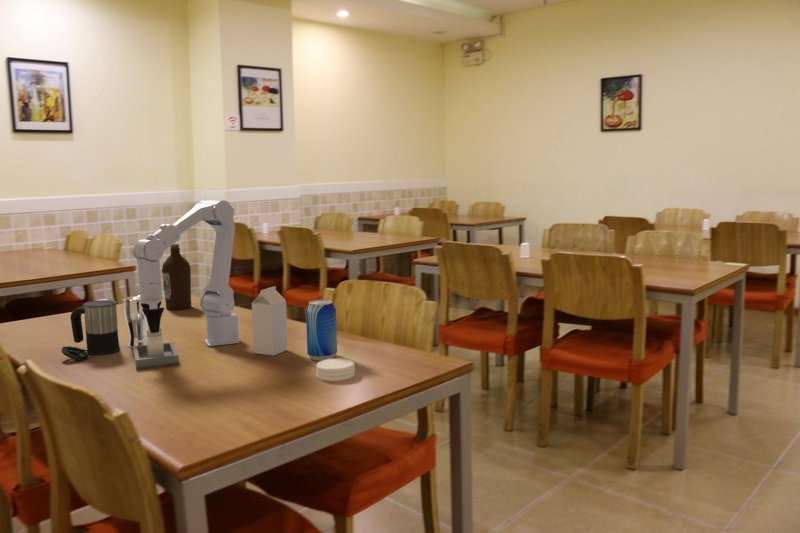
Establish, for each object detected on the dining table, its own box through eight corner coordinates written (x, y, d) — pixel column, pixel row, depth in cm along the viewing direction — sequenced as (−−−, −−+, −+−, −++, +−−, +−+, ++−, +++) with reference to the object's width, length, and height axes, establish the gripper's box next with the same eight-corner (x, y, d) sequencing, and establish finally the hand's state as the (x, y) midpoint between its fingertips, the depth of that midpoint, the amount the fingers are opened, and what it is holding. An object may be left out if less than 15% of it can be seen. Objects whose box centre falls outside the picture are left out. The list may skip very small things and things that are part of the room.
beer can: (324, 362, 184) (323, 306, 182) (301, 358, 189) (299, 303, 187) (343, 355, 192) (341, 300, 189) (320, 351, 196) (318, 298, 194)
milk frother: (124, 346, 205) (120, 298, 203) (111, 360, 190) (107, 309, 188) (74, 349, 203) (70, 301, 201) (57, 363, 188) (53, 312, 185)
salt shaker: (163, 354, 193) (162, 327, 192) (164, 358, 189) (162, 330, 188) (147, 356, 191) (145, 329, 190) (147, 360, 187) (145, 332, 186)
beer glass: (142, 348, 202) (139, 300, 200) (122, 347, 203) (118, 299, 201) (155, 342, 209) (152, 295, 206) (135, 342, 210) (132, 295, 208)
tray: (173, 350, 199) (172, 341, 199) (178, 364, 185) (178, 355, 185) (133, 355, 195) (133, 346, 195) (136, 369, 181) (135, 360, 180)
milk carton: (288, 350, 198) (285, 287, 195) (273, 356, 192) (271, 291, 189) (268, 347, 201) (265, 285, 198) (253, 353, 195) (250, 289, 192)
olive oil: (187, 303, 269) (184, 242, 265) (196, 308, 260) (192, 244, 257) (161, 307, 263) (156, 244, 259) (169, 311, 254) (164, 246, 251)
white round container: (319, 370, 178) (319, 357, 178) (356, 370, 178) (356, 357, 177) (313, 382, 168) (313, 369, 168) (353, 382, 168) (352, 368, 168)
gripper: (133, 279, 192) (137, 325, 194) (136, 287, 179) (139, 337, 181) (159, 277, 195) (163, 323, 197) (163, 285, 181) (167, 333, 183)
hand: (153, 329), depth 189 cm, fingers open, 7 cm apart
